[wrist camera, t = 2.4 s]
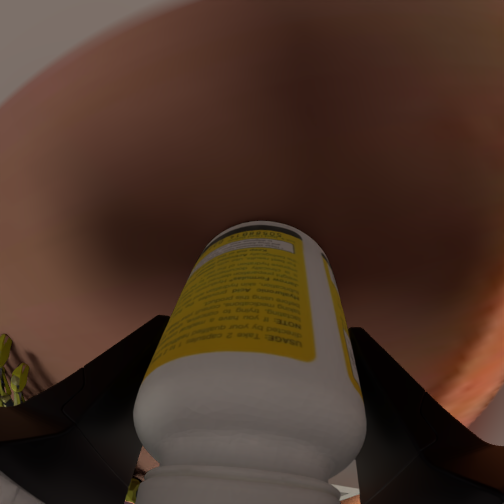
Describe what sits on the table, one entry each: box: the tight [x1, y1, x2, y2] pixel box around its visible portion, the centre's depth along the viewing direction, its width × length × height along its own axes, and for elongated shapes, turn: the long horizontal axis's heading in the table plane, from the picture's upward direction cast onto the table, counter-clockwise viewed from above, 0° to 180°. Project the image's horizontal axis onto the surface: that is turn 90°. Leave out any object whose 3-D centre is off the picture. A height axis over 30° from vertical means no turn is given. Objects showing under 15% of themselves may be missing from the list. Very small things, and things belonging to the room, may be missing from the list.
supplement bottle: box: [133, 221, 366, 504], centre depth 8 cm, size 5×5×10 cm
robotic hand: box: [0, 334, 140, 503], centre depth 21 cm, size 12×7×25 cm
